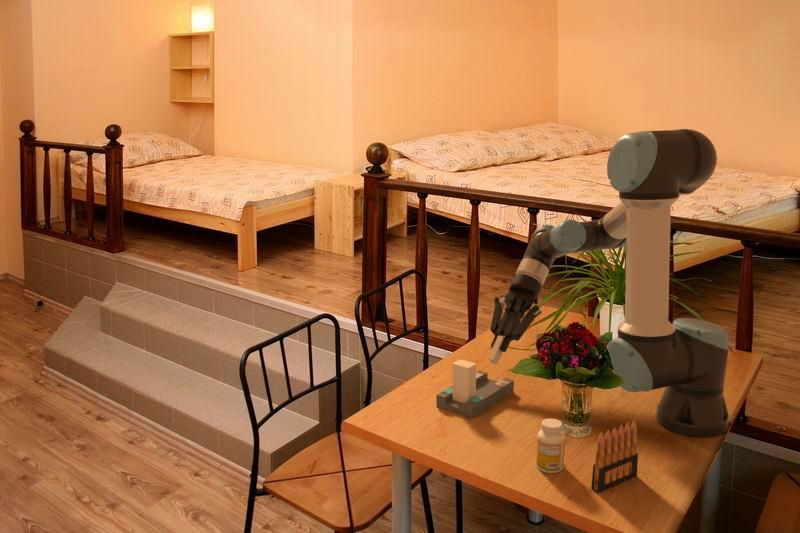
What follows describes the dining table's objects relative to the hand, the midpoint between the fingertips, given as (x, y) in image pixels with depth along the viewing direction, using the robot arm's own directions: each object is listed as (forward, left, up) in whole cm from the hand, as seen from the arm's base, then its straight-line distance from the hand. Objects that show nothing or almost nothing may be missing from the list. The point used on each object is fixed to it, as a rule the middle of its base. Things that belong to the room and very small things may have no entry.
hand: (492, 361), depth 188 cm
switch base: (-5, +6, -7) cm, 10 cm away
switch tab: (-8, +9, -6) cm, 13 cm away
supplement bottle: (-38, 0, -8) cm, 38 cm away
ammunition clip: (-46, -10, -8) cm, 47 cm away
